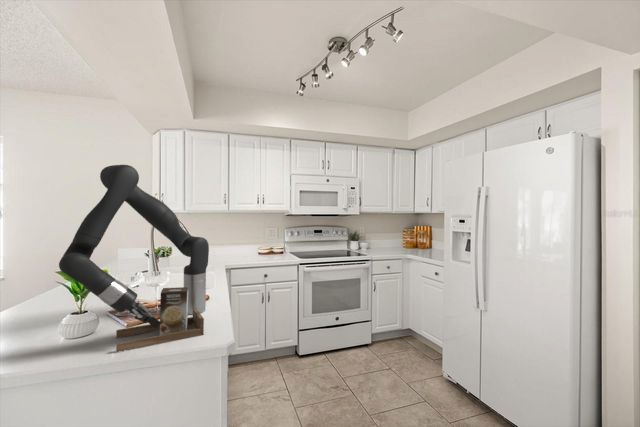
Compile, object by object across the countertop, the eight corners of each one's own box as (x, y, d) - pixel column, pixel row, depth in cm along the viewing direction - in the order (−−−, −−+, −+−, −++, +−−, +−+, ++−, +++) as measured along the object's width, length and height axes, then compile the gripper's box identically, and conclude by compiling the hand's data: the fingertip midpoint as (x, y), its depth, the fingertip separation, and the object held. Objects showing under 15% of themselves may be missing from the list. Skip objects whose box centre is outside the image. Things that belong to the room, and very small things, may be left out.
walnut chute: (116, 336, 109) (116, 320, 108) (195, 322, 123) (195, 307, 123) (116, 352, 97) (116, 334, 97) (203, 334, 112) (203, 318, 112)
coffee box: (158, 337, 109) (159, 292, 109) (161, 330, 115) (162, 287, 115) (186, 334, 112) (187, 290, 112) (188, 327, 118) (188, 286, 118)
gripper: (127, 291, 99) (168, 322, 106) (126, 282, 110) (164, 310, 117) (107, 310, 96) (151, 340, 103) (108, 299, 107) (148, 327, 114)
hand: (157, 324), depth 110 cm, fingers closed
